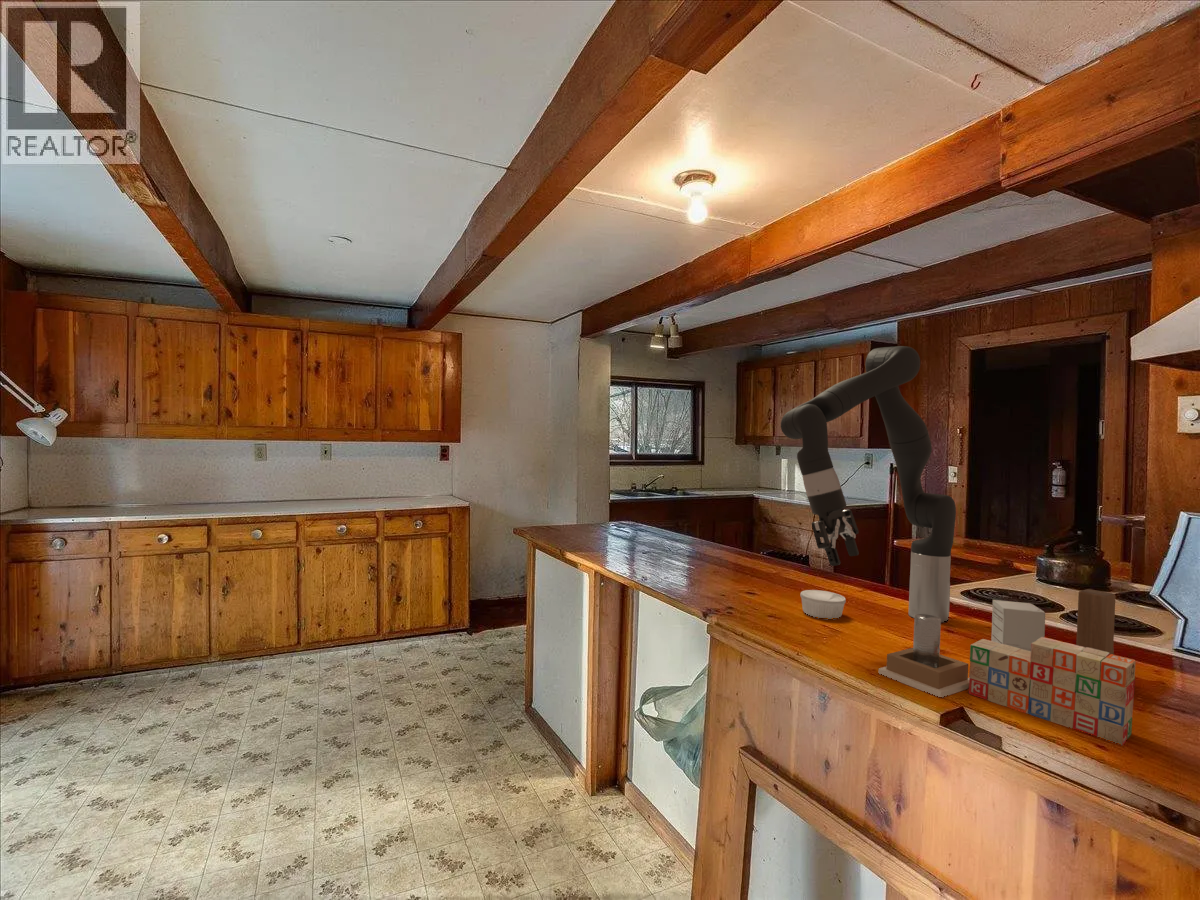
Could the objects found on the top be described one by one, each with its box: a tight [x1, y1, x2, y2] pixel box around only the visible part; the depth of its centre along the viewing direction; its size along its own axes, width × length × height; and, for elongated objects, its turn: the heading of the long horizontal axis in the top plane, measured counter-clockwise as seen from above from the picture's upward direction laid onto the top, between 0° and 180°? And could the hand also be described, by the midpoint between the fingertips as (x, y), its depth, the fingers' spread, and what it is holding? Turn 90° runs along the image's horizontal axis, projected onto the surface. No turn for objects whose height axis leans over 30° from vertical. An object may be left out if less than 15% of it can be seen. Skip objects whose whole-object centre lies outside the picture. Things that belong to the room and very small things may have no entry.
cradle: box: [878, 647, 970, 698], centre depth 110 cm, size 12×12×4 cm
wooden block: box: [1075, 588, 1117, 655], centre depth 112 cm, size 9×4×18 cm, turn 121°
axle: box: [912, 614, 942, 668], centre depth 110 cm, size 4×4×11 cm
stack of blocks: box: [968, 636, 1136, 746], centre depth 97 cm, size 21×6×12 cm, turn 37°
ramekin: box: [799, 589, 847, 620], centre depth 152 cm, size 11×11×5 cm
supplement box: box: [990, 599, 1046, 651], centre depth 119 cm, size 7×7×13 cm
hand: (845, 560), depth 128 cm, fingers open, 8 cm apart
